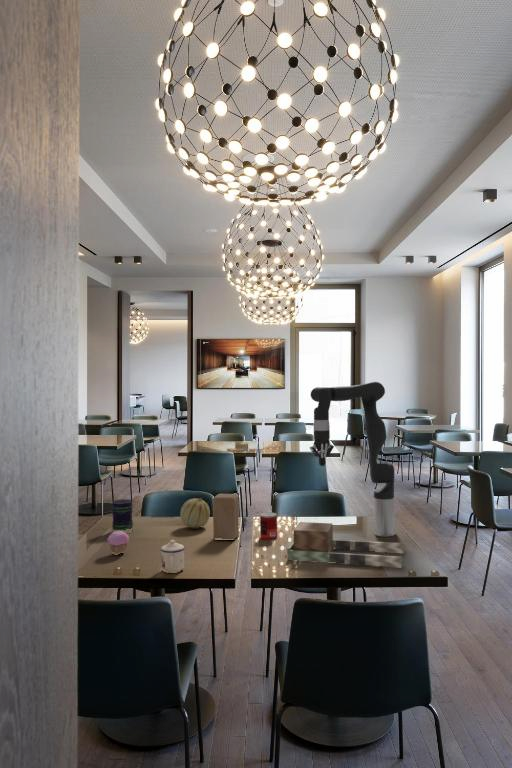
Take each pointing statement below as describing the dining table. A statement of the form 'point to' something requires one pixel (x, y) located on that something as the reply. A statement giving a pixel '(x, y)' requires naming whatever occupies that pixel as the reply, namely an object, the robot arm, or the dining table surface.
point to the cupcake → (118, 541)
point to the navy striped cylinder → (122, 514)
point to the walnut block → (313, 537)
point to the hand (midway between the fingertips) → (322, 465)
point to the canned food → (268, 526)
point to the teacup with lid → (172, 556)
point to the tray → (352, 558)
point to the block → (225, 516)
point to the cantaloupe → (195, 513)
